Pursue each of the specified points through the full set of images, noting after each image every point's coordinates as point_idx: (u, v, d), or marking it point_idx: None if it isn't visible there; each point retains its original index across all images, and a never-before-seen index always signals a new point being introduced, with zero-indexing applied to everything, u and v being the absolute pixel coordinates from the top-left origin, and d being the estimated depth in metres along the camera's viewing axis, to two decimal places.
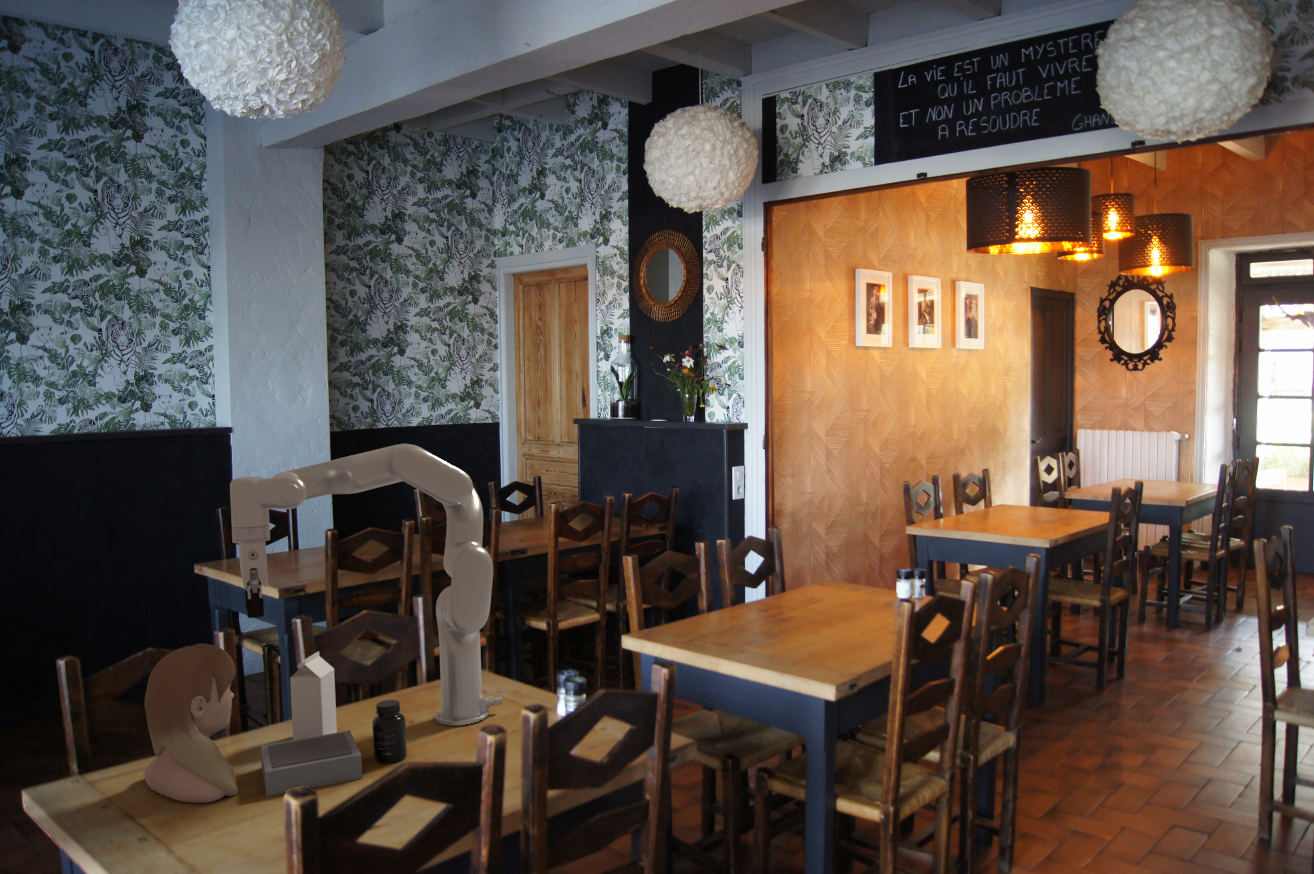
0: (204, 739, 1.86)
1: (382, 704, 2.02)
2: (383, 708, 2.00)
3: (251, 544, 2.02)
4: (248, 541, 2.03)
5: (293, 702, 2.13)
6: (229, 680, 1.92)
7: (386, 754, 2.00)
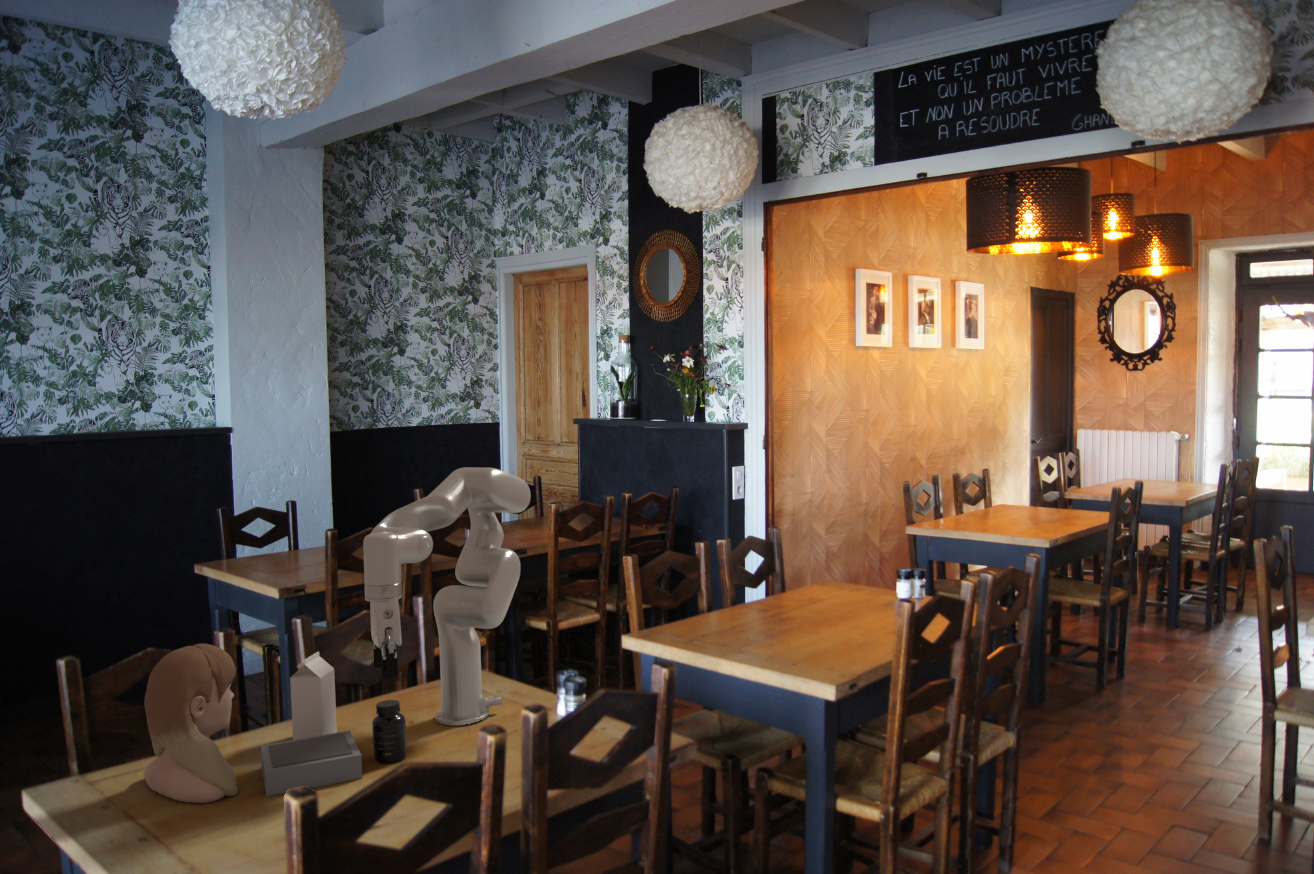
0: (204, 739, 1.86)
1: (382, 704, 2.02)
2: (383, 708, 2.00)
3: (386, 603, 1.97)
4: (383, 599, 1.98)
5: (293, 702, 2.13)
6: (229, 680, 1.92)
7: (386, 754, 2.00)
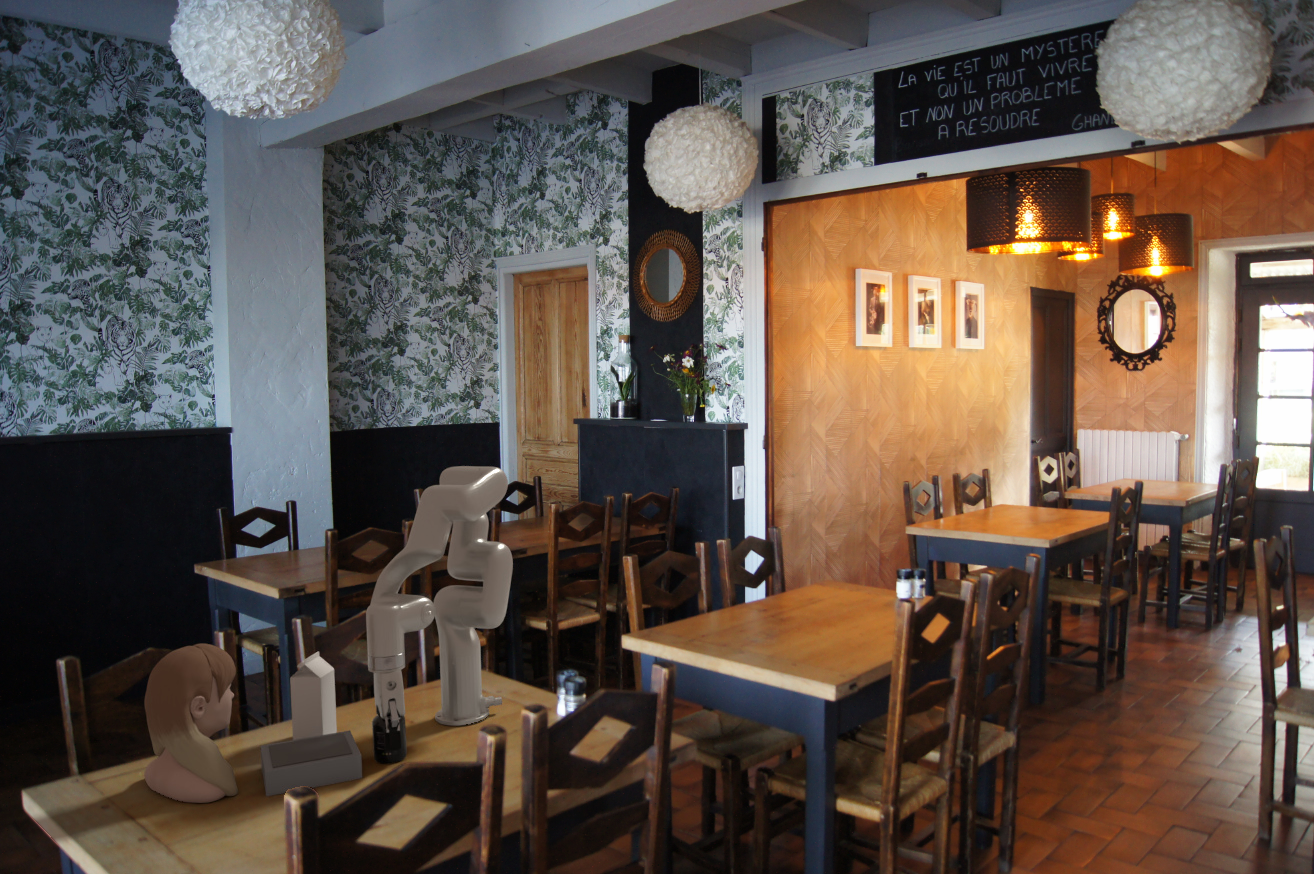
0: (204, 739, 1.86)
1: None
2: None
3: (389, 674, 1.98)
4: (386, 670, 1.99)
5: (293, 702, 2.13)
6: (229, 680, 1.92)
7: (386, 754, 2.00)
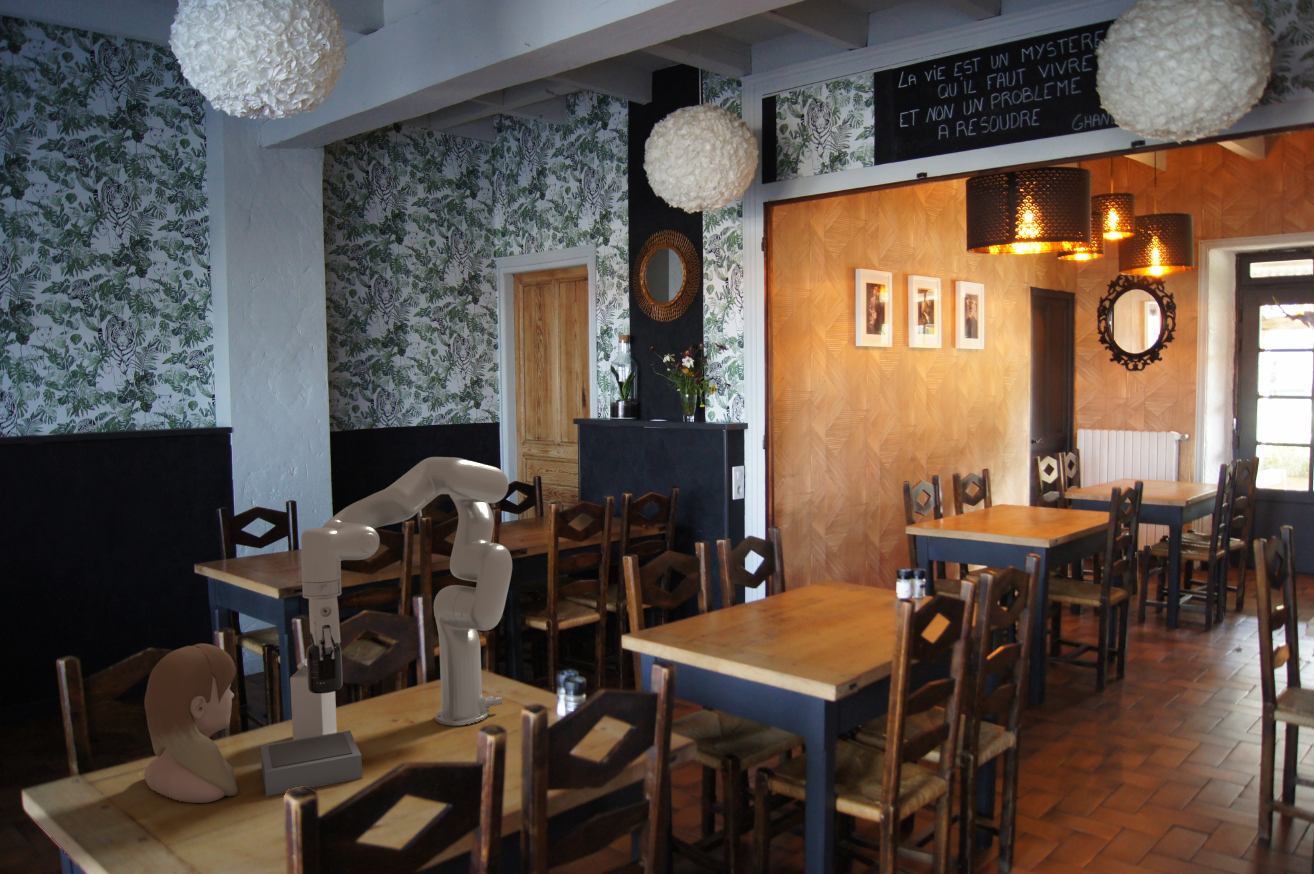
0: (204, 739, 1.86)
1: None
2: None
3: (324, 600, 1.92)
4: (320, 596, 1.93)
5: (293, 702, 2.13)
6: (229, 680, 1.92)
7: (320, 683, 1.93)
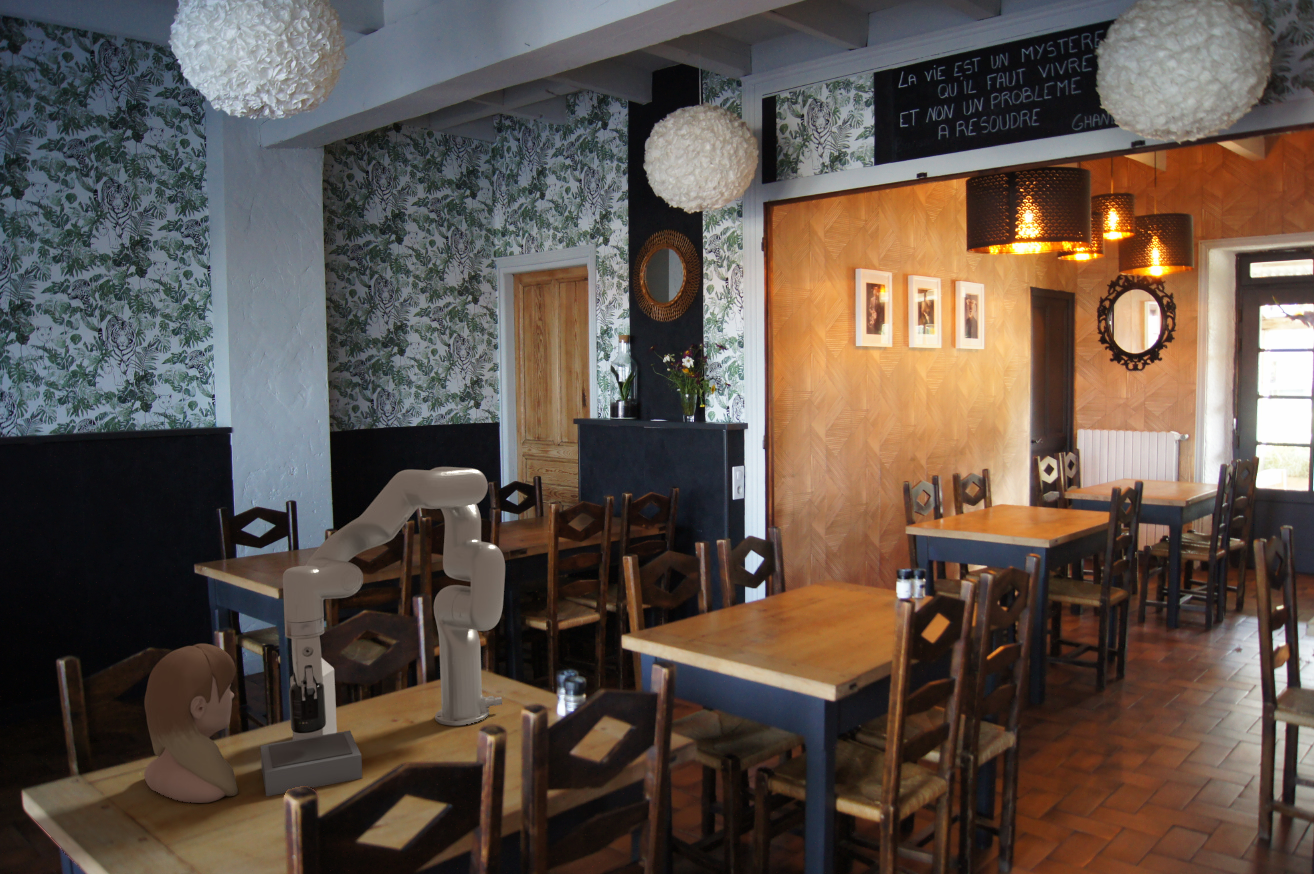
0: (204, 739, 1.86)
1: None
2: None
3: (306, 640, 1.91)
4: (302, 636, 1.91)
5: None
6: (229, 680, 1.92)
7: (303, 723, 1.92)
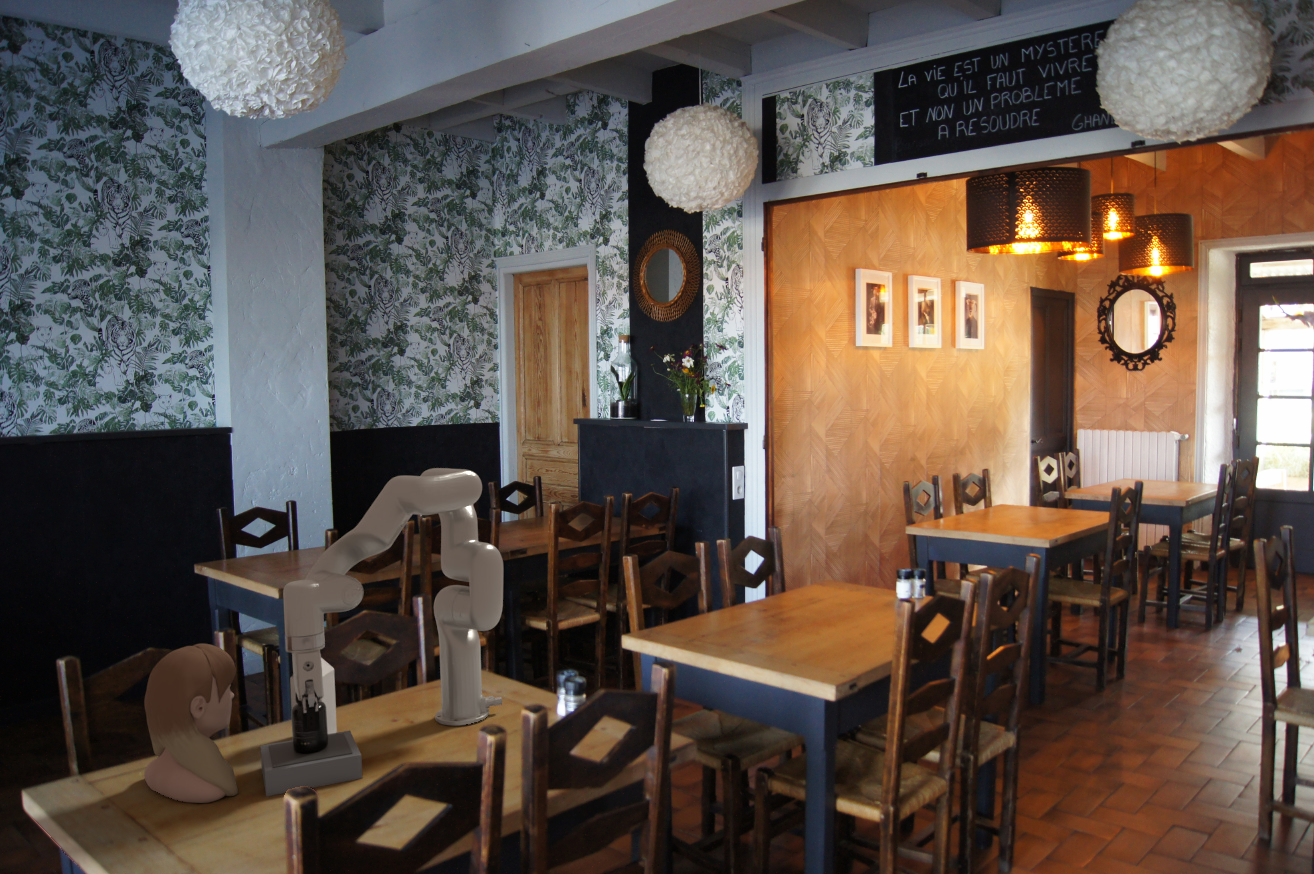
0: (204, 739, 1.86)
1: None
2: None
3: (306, 654, 1.91)
4: (303, 651, 1.92)
5: (293, 702, 2.13)
6: (229, 680, 1.92)
7: (305, 743, 1.93)
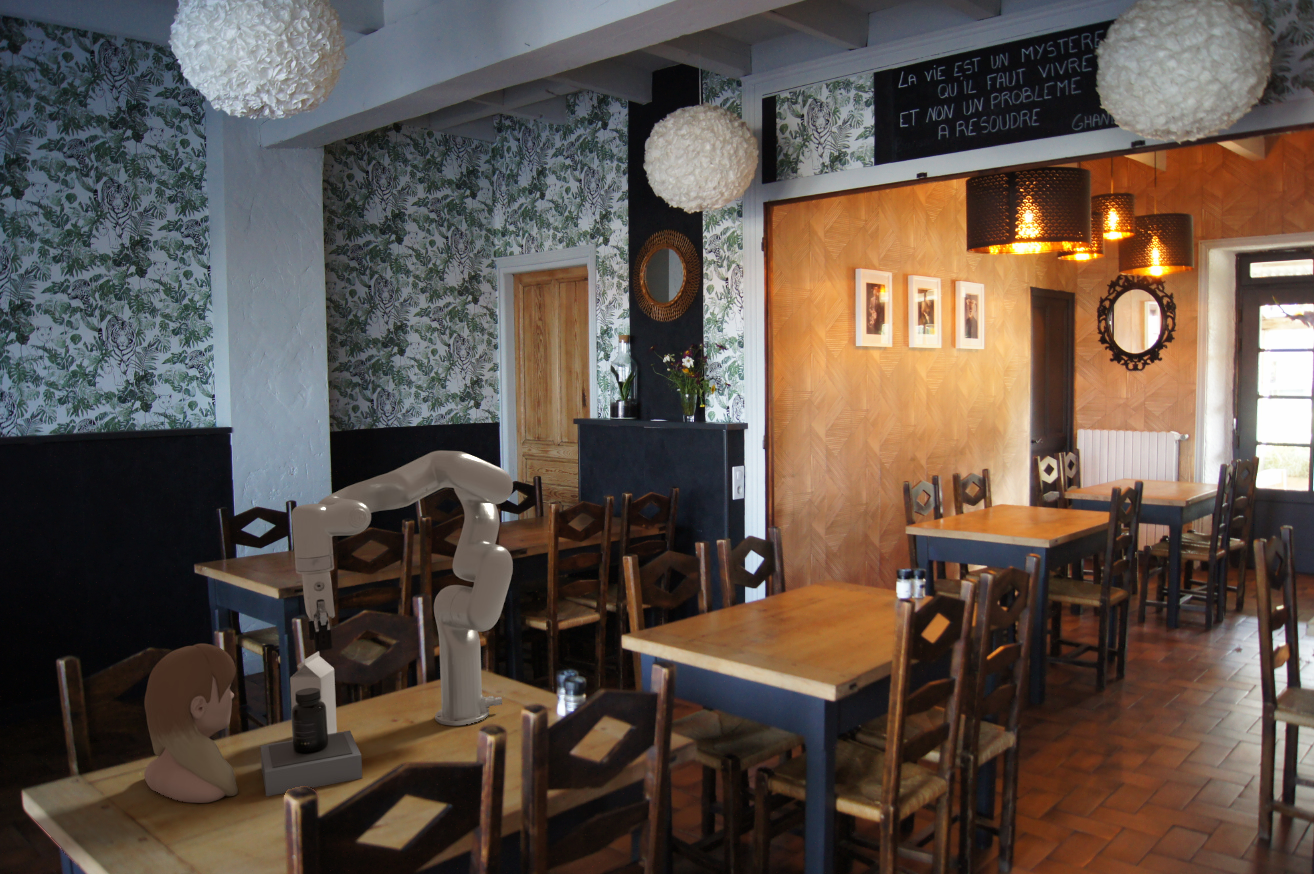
0: (204, 739, 1.86)
1: (301, 692, 1.95)
2: (302, 695, 1.94)
3: (317, 575, 1.95)
4: (313, 572, 1.96)
5: (293, 702, 2.13)
6: (229, 680, 1.92)
7: (305, 743, 1.93)
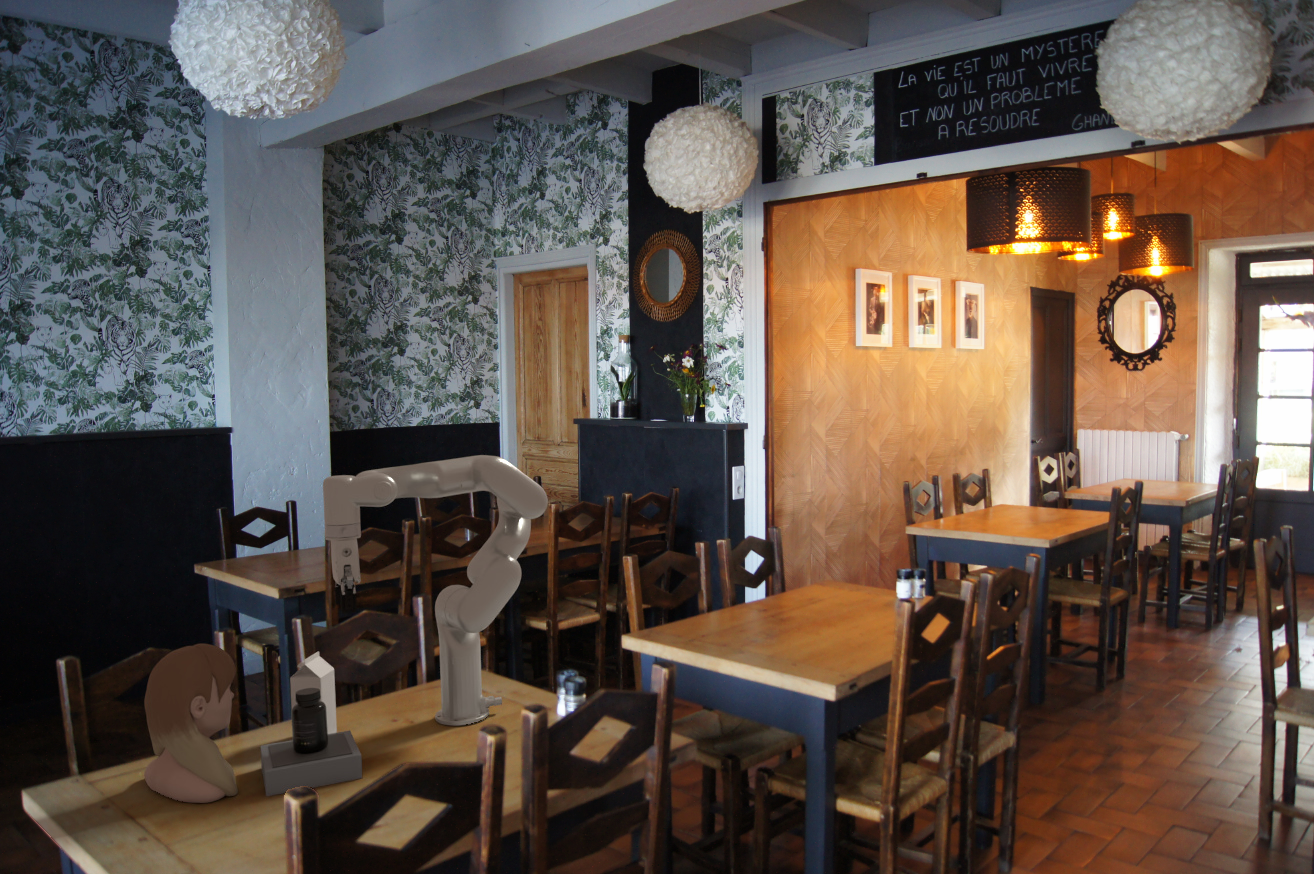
0: (204, 739, 1.86)
1: (301, 692, 1.95)
2: (302, 695, 1.94)
3: (345, 541, 2.07)
4: (341, 538, 2.08)
5: (293, 702, 2.13)
6: (229, 680, 1.92)
7: (305, 743, 1.93)
